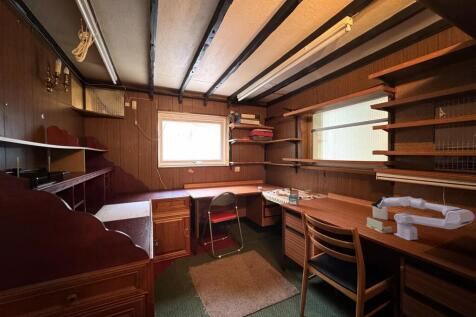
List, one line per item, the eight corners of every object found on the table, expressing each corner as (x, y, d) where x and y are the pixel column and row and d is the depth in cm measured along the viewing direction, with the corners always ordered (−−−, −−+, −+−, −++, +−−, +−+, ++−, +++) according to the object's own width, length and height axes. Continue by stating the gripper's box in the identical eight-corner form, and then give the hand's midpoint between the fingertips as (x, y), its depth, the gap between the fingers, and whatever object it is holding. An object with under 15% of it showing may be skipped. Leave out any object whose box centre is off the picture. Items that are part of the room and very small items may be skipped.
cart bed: (392, 232, 129) (391, 227, 129) (382, 233, 128) (382, 228, 128) (375, 225, 142) (375, 220, 142) (366, 226, 141) (366, 221, 141)
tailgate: (383, 230, 129) (383, 222, 129) (382, 230, 128) (381, 223, 128) (367, 224, 141) (367, 217, 141) (366, 224, 141) (366, 217, 141)
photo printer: (372, 217, 159) (371, 203, 159) (373, 216, 162) (373, 202, 162) (387, 220, 151) (386, 205, 151) (388, 219, 154) (388, 204, 154)
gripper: (396, 192, 132) (378, 194, 144) (383, 200, 127) (366, 201, 140) (401, 202, 130) (383, 202, 143) (388, 210, 126) (370, 210, 139)
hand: (375, 202), depth 142 cm, fingers open, 7 cm apart
